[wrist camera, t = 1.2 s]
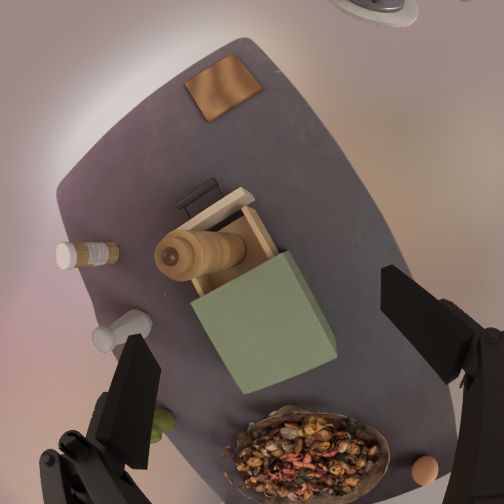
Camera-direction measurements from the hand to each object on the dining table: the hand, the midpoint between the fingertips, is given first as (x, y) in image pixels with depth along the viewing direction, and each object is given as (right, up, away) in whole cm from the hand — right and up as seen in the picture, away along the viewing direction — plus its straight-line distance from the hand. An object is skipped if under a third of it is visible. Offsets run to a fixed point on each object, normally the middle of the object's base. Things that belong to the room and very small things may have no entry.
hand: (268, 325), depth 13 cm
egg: (+35, -40, +22) cm, 58 cm away
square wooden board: (-6, +34, +29) cm, 45 cm away
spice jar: (-28, +4, +36) cm, 46 cm away
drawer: (-4, +5, +29) cm, 29 cm away
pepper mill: (-4, +4, +28) cm, 28 cm away
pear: (-19, -31, +35) cm, 50 cm away
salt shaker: (-21, -10, +35) cm, 42 cm away
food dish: (+11, -40, +28) cm, 50 cm away
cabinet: (+2, -6, +29) cm, 29 cm away
